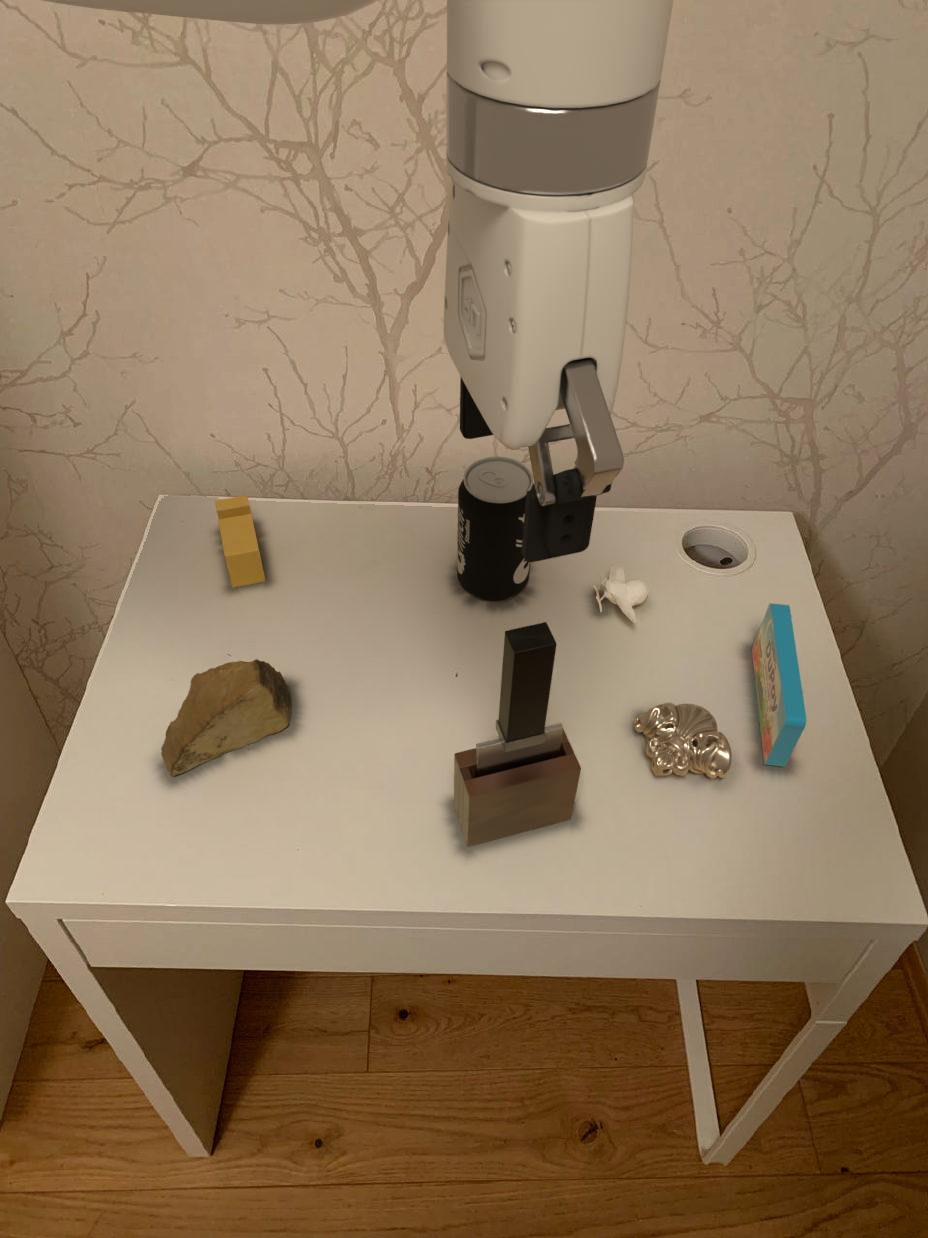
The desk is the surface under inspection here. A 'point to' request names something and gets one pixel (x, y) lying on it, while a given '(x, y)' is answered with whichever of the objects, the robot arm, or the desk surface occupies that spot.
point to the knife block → (514, 795)
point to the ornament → (684, 740)
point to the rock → (226, 713)
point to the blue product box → (778, 686)
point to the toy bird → (622, 591)
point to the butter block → (241, 550)
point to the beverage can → (493, 528)
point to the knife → (523, 704)
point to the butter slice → (232, 507)
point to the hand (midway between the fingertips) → (519, 488)
